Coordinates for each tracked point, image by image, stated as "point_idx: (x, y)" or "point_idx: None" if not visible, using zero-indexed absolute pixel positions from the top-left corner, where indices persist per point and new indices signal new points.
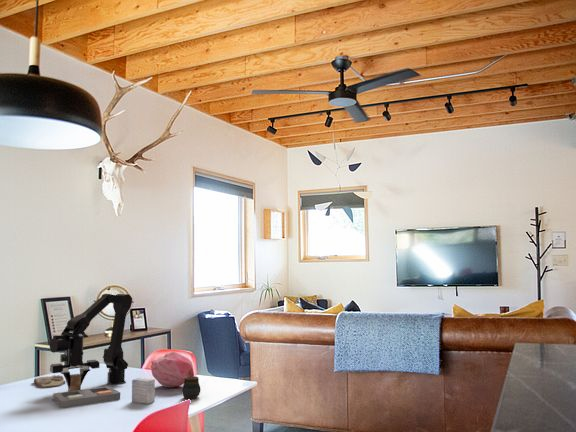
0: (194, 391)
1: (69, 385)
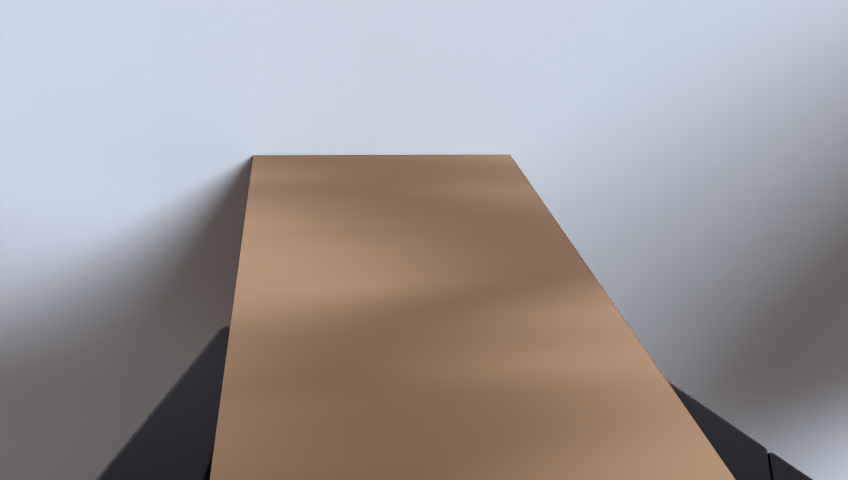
0: None
1: None
